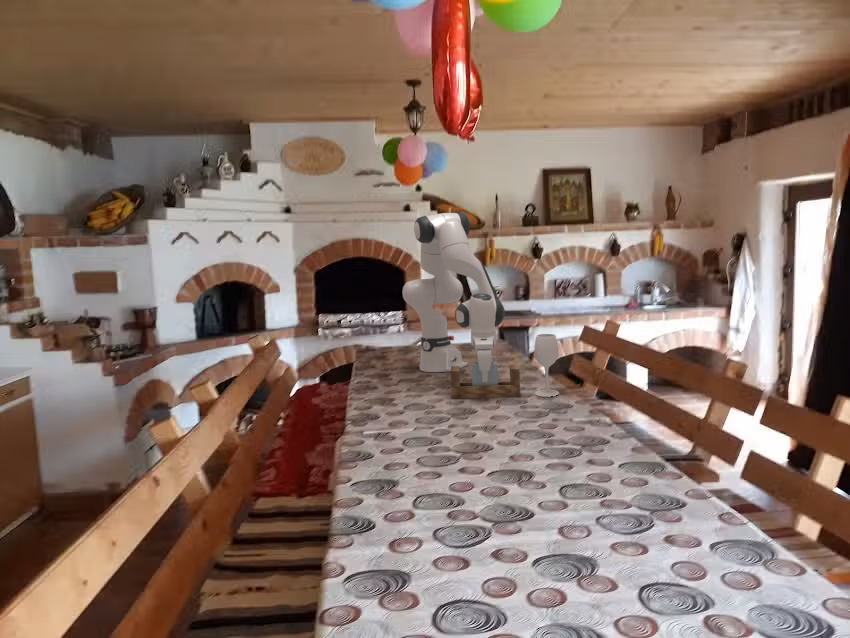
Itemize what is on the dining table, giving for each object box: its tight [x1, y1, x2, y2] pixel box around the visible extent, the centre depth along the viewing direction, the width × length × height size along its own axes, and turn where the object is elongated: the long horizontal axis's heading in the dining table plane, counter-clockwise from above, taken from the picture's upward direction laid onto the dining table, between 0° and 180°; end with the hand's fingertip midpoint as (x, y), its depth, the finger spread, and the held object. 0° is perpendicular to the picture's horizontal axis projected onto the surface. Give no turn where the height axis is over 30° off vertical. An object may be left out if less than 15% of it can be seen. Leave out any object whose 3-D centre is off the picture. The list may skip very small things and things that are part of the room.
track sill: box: [449, 363, 521, 400], centre depth 233 cm, size 24×8×10 cm, turn 86°
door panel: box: [471, 361, 499, 386], centre depth 232 cm, size 9×4×10 cm, turn 86°
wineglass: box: [534, 333, 560, 398], centre depth 229 cm, size 9×9×21 cm
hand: (485, 378), depth 232 cm, fingers open, 8 cm apart
